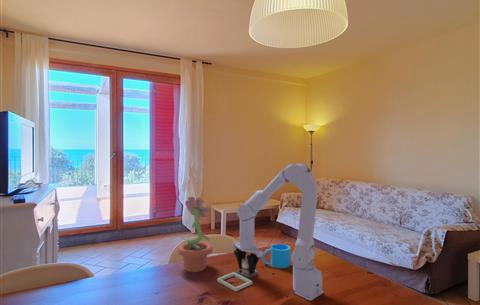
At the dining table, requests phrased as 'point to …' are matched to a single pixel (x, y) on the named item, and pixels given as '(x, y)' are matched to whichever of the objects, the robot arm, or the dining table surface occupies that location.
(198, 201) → the decorative flower
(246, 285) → the parts tray
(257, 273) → the grey square holder
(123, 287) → the dining table surface
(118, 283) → the dining table surface
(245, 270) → the fuse
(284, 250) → the mug
